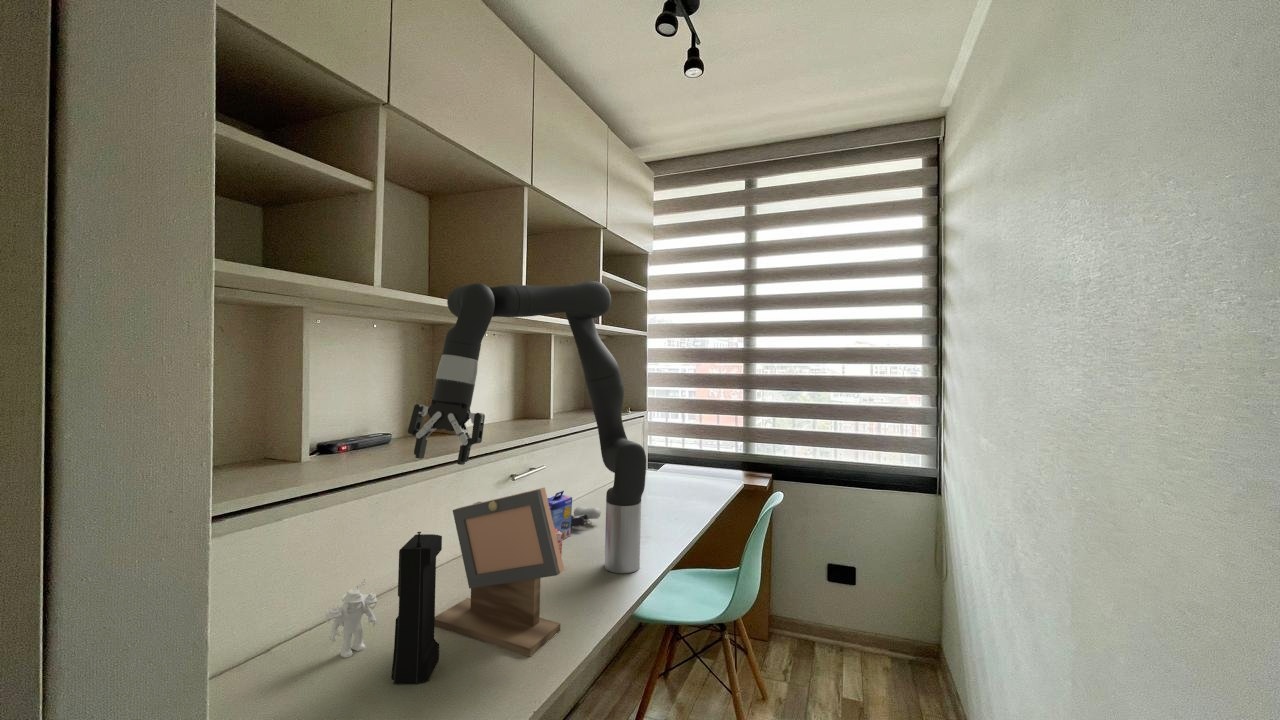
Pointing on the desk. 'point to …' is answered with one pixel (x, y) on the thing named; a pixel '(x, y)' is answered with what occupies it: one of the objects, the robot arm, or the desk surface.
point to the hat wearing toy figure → (352, 619)
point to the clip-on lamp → (584, 515)
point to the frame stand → (502, 617)
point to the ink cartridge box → (561, 513)
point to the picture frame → (508, 539)
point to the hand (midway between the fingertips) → (439, 461)
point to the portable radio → (416, 611)
